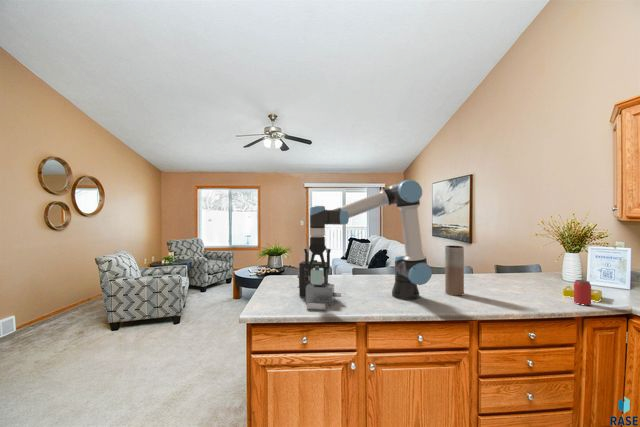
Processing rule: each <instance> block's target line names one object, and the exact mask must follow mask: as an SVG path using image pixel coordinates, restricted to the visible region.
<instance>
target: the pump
mask: <svg viewBox="0 0 640 427" xmlns="http://www.w3.org/2000/svg"><path fill="white" fill-rule="evenodd" d="M322 270H323V268H319V266H315V268H313V269H312V270H311V284H316V285H322Z"/></svg>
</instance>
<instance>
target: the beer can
mask: <svg viewBox="0 0 640 427" xmlns="http://www.w3.org/2000/svg"><path fill="white" fill-rule="evenodd" d="M573 286H574V299H573V302H574V303H575V302H576V303H579V304H584V305H590V304H591V305H592V302H591V289H592V285H591V282H590V280H589V281H588V280H585V279H584V280H582V279H575V281H574V283H573ZM576 303H575V304H576ZM591 305H590V306H591Z"/></svg>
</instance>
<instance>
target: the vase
mask: <svg viewBox="0 0 640 427" xmlns="http://www.w3.org/2000/svg"><path fill="white" fill-rule="evenodd" d="M444 248H445V249H444V252H445V254H444V255H445V256H444V262H445V264H444V265H445V266H444V274H445V275H444V276H445V277H444V282H445V283H444V284H445V287H444V288H445V289H444V290H445V294H447V293H448V294H447V295H449V294H453V295H452V296H454V295H461V296H463V295H462V294H464V295H465V279H464V277H465V267H464V266H465V256H464V255H465V248H464V246H462V245H445V246H444Z"/></svg>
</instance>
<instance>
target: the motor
mask: <svg viewBox="0 0 640 427" xmlns="http://www.w3.org/2000/svg"><path fill="white" fill-rule="evenodd" d="M335 298H342V292H335V284H334V283H330V284H324V283H322V285H316V284H311V283H309V284H308V285H307V286H306V297H305V305H306V310H307V311H308V310H309V311H323V312H324V311H326V309H327V307H328V306H333V305H334V303H335Z"/></svg>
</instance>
